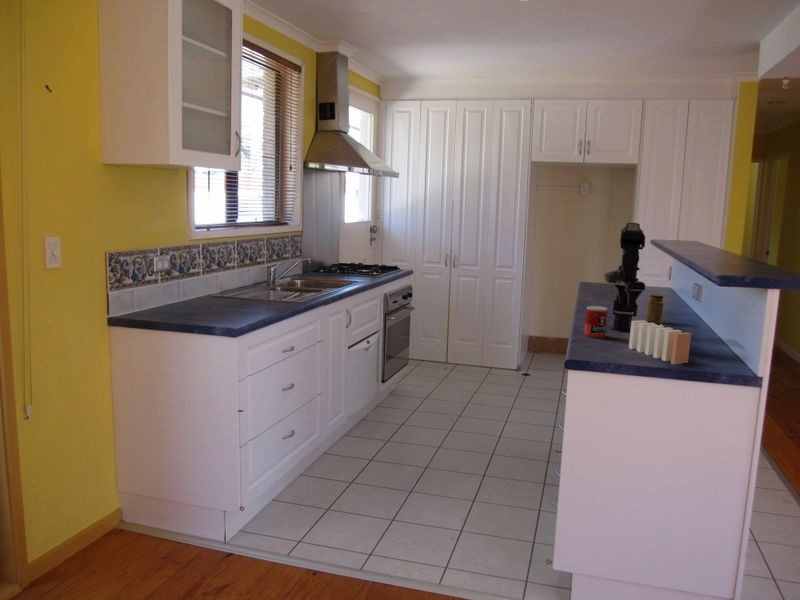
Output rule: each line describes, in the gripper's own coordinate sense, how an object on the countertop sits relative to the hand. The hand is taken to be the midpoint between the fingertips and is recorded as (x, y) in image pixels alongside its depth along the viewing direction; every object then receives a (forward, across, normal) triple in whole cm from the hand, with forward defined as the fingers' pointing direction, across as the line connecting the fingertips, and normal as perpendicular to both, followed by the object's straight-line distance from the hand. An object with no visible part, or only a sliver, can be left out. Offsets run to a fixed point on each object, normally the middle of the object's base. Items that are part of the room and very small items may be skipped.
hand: (625, 305), depth 245 cm
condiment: (+13, -38, +28) cm, 49 cm away
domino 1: (+13, +14, 0) cm, 19 cm away
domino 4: (+13, +26, +4) cm, 29 cm away
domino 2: (+13, +18, +1) cm, 22 cm away
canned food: (+13, -5, -9) cm, 17 cm away
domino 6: (+13, +33, +7) cm, 36 cm away
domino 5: (+13, +29, +6) cm, 32 cm away
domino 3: (+13, +22, +3) cm, 25 cm away
